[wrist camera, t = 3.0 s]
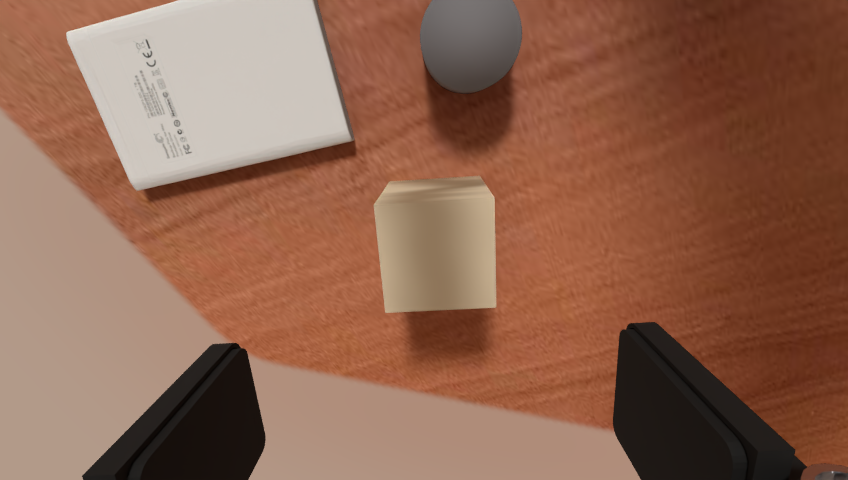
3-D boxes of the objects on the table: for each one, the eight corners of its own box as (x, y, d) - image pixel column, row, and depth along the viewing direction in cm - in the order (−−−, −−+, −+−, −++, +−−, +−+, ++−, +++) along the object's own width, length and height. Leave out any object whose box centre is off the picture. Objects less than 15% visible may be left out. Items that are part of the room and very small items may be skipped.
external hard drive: (357, 139, 23) (152, 187, 24) (312, -27, 20) (86, 35, 21) (351, 141, 21) (132, 192, 22) (302, -38, 19) (59, 29, 20)
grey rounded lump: (509, -6, 20) (522, -26, 17) (510, 90, 21) (521, 87, 18) (419, 2, 20) (416, -17, 17) (425, 96, 21) (423, 94, 18)
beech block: (479, 175, 22) (494, 197, 17) (481, 260, 24) (496, 307, 18) (389, 181, 23) (373, 205, 17) (397, 265, 24) (385, 312, 18)
